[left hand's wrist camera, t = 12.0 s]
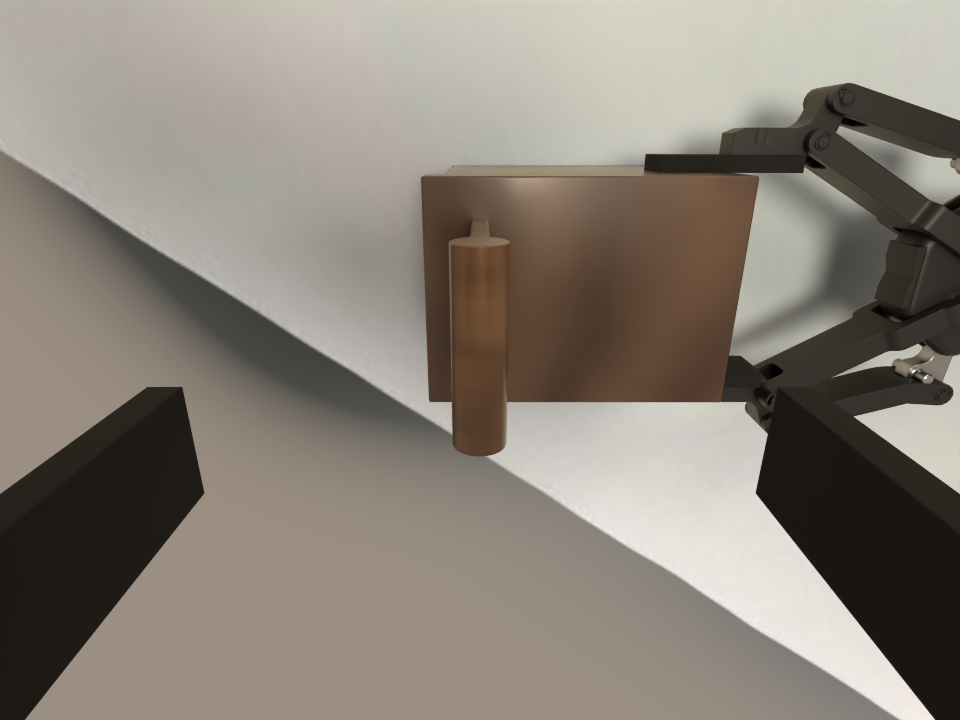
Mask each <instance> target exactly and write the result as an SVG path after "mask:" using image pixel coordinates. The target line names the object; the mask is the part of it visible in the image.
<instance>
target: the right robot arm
mask: <svg viewBox="0 0 960 720" xmlns="http://www.w3.org/2000/svg"><path fill="white" fill-rule="evenodd" d="M803 108H804V110H803V112H802V114H801V116H800V118H799V119H798V121H797V122H796V123H795V124H793V125H792V126H790V127H788V128H735V129H731V130H729V131H726V132H724V133H722V139H721V146H720V152H719V154H646V157H645V167H644V170H650V171H656V172H727V173H803V171H804V167H806V168H807V169H809V170H810V171H812V172H813V173H814V174H816V175H817V176H819V177H820V178H822V179H823V180H825V181H826V182H827V183H829V184H830V185H832V186H833V187H835V188H836V189H838V190H839V191H840V192H842V193H843V194H845V195H846V196H848V197H849V198H850V199H852V200H853V201H855V202H856V203H858V204H859V205H861V206H862V207H863V208H865V209H866V210H868V211H869V212H871V213H872V214H874V215H875V216H876V217H877V220H878V221H879V222H880V223H882V224H883V225H885V226H886V227H888V228H889V229H891V230H892V231H893V232H895V233H896V234H898V235H899V236H898V237H897V239H896V240H890V243H889V246H888V250H887V254H886V272H885V273H884V275H883V277H882V279H881V281H880V283H879V285H878V288H877V292H876V296H875V299H877V301H875V302H873V303H871V304H869V305H867V306H865V307H863V308H861V309H859V310H857V311H855V312H854V313H853V317H852V318H851V319H849V320H847V321H845V322H843V323H841V324H839V325H837V326H835V327H833V328H831V329H829V330H827V331H825V332H822V333H820V334H818V335H816V336H814V337H812V338H810V339H808V340H806V341H804V342H802V343H800V344H798V345H796V346H794V347H792V348H790V349H787V350H785V351H783V352H781V353H779V354H777V355H775V356H773V357H771V358H769V359H767V360H765V361H763V362H761V363H759V364H757V365H755V366H753V365H751V364H750V363H749V362H748V361H746V360H745V359H744V358H743V357H741V356H729V357H728V363H727V369H726V375H725V381H724V386H723V392H722V398H721V402H747V403H746V405H745V410H746V412H747V413H748V414H749V415H750V416H751V417H752V418H753V419H754V421H755V422H756V423H757V424H758V425H759V426H760V427H761V428H762V429H764V430H765V431H766V432H767V433H768V432H769V427H770V422H771V417H772V413H773V408H774V403H775V398H776V393H777V389H778V387H813V388H815V389H816V390H817V391H819V392H820V393H821V394H823V395H824V396H826V397H827V398H828V399H830V400H831V401H832V402H834V403H835V404H837V405H838V406H839V407H841V408H842V409H843V410H845V411H846V412H848V413H849V414H850V415H852V416H857V415H861V414H865V413H870V412H874V411H878V410H882V409H886V408H890V407H894V406H898V405H902V404H906V403H909V404H925V405H943V404H945V403H947V402H948V401H949V400H950V399H951V398H952V396H953V389H952V387H950V386H949V385H947V384H945V383H943V382H942V381H943V379H944V376H945V374H946V371H947V369H948V366H949V363H950V361H951V358H952V356H955V355H959V354H960V194H959V195H958V196H956V197H955V198H953V199H951V200H950V201H948V202H946V203H945V204H943V205H940V204H938V203H935V202H932V201H930V200H929V199H927V198H926V197H925V196H923V195H922V194H920V193H919V192H918V191H916V190H915V189H913V188H912V187H911V186H909V185H908V184H906V183H905V182H904V181H902V180H901V179H899V178H898V177H897V176H895V175H894V174H892V173H891V172H890V171H888V170H887V169H885V168H884V167H883V166H881V165H880V164H879V163H877V162H876V161H874V160H873V159H872V158H870V157H869V156H867V155H866V154H865V153H863V152H862V151H860V150H859V149H858V148H856V147H855V146H853V145H852V144H851V143H849V142H848V141H846V140H845V139H844V138H842V137H841V136H840V135H838V134H837V133H836V131H837V129H838V127H839V125H840V126H843V127H846V128H849V129H852V130H855V131H858V132H860V133H863V134H866V135H869V136H872V137H875V138H878V139H881V140H884V141H887V142H890V143H893V144H896V145H899V146H902V147H905V148H908V149H911V150H913V151H916V152H919V153H922V154H925V155H929V156H933V157H939V158H952V160H951V162H950V166H951V167H952V168H955V170H956V172H957V173H958V174H960V121H959V120H956V119H953V118H951V117H948V116H945V115H942V114H939V113H936V112H933V111H931V110H928V109H925V108H922V107H919V106H916V105H913V104H910V103H908V102H905V101H902V100H899V99H896V98H893V97H890V96H888V95H885V94H882V93H879V92H876V91H873V90H870V89H868V88H865V87H862V86H859V85H856V84H852V83H846V84H840V85H834V86H828V87H822V88H816V89H813V90H811V91H810V92H809V93H808V94H807V95H806V97H805V98H804V102H803ZM916 344H920V345H921V346H922V347H923V348H922V350H921V351H920V352H919V354H917V355H916V356H914V357H912V358H907V359H904V360H901V359H896V360H894V361H893V363H892V366H883V367H874V368H869V369H865V370H861V371H857V372H853V373H849V374H845V375H841V376H837V377H834V376H836V375H838V374H840V373H842V372H844V371H846V370H849V369H851V368H853V367H855V366H857V365H859V364H861V363H864V362H866V361H868V360H870V359H872V358H874V357H876V356H878V355H881V354H883V353H885V352H887V351H900V350H905V349H907V348H909V347H912V346H914V345H916ZM832 377H833V378H832Z"/></svg>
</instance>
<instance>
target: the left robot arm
mask: <svg viewBox="0 0 960 720" xmlns="http://www.w3.org/2000/svg"><path fill="white" fill-rule="evenodd" d="M203 494H204V489H203V484H202V480H201V475H200V470H199V465H198V460H197V456H196V451H195V446H194V441H193V436H192V432H191V427H190V422H189V417H188V413H187V408H186V403H185V398H184V393H183V389H182V387H147V388H146V389H144V390H143V391H141V392H140V393H139V394H137V395H136V396H134V397H133V398H132V399H130V400H129V401H128V402H126V403H125V404H123V405H122V406H121V407H119V408H118V409H117V410H115V411H114V412H112V413H111V414H110V415H108V416H107V417H106V418H104V419H103V420H102V421H100V422H99V423H97V424H96V425H95V426H93V427H92V428H90V429H89V430H88V431H86V432H85V433H84V434H82V435H81V436H79V437H78V438H77V439H75V440H74V441H73V442H71V443H70V444H68V445H67V446H66V447H64V448H63V449H62V450H60V451H59V452H57V453H56V454H55V455H53V456H52V457H51V458H49V459H48V460H46V461H45V462H44V463H42V464H41V465H40V466H38V467H37V468H35V469H34V470H33V471H31V472H30V473H29V474H27V475H26V476H24V477H23V478H22V479H20V480H19V481H18V482H16V483H15V484H13V485H12V486H11V487H9V488H8V489H7V490H5V491H4V492H2V493H1V494H0V720H25V719H26V718H27V716H28V715H29V714H30V713H31V711H32V710H33V709H34V707H35V706H36V705H37V704H38V702H39V701H40V700H41V699H42V697H43V696H44V695H45V694H46V692H47V691H48V690H49V689H50V687H51V686H52V685H53V683H54V682H55V681H56V680H57V678H58V677H59V676H60V675H61V673H62V672H63V671H64V670H65V668H66V667H67V666H68V665H69V663H70V662H71V661H72V659H73V658H74V657H75V656H76V654H77V653H78V652H79V651H80V649H81V648H82V647H83V646H84V644H85V643H86V642H87V641H88V639H89V638H90V637H91V636H92V634H93V633H94V632H95V631H96V629H97V628H98V627H99V625H100V624H101V623H102V622H103V620H104V619H105V618H106V617H107V615H108V614H109V613H110V612H111V610H112V609H113V608H114V607H115V605H116V604H117V603H118V601H119V600H120V599H121V598H122V596H123V595H124V594H125V593H126V591H127V590H128V589H129V588H130V586H131V585H132V584H133V583H134V581H135V580H136V579H137V577H138V576H139V575H140V574H141V572H142V571H143V570H144V569H145V567H146V566H147V565H148V564H149V562H150V561H151V560H152V559H153V557H154V556H155V555H156V554H157V552H158V551H159V550H160V548H161V547H162V546H163V545H164V543H165V542H166V541H167V540H168V538H169V537H170V536H171V535H172V533H173V532H174V531H175V530H176V528H177V527H178V526H179V525H180V523H181V522H182V521H183V519H184V518H185V517H186V516H187V514H188V513H189V512H190V511H191V509H192V508H193V507H194V505H195V504H196V503H197V502H198V501H199V499H200V498H201V497H202V495H203ZM756 494H757V495H758V497H759V498H760V499H761V501H762V502H763V503H764V504H765V506H766V507H767V508H768V509H769V511H770V512H771V513H772V514H773V516H774V517H775V518H776V519H777V521H778V522H779V523H780V525H781V526H782V527H783V528H784V530H785V531H786V532H787V533H788V535H789V536H790V537H791V538H792V540H793V541H794V542H795V543H796V545H797V546H798V547H799V548H800V550H801V551H802V552H803V554H804V555H805V556H806V557H807V559H808V560H809V561H810V562H811V564H812V565H813V566H814V567H815V569H816V570H817V571H818V572H819V574H820V575H821V576H822V578H823V579H824V580H825V581H826V583H827V584H828V585H829V586H830V588H831V589H832V590H833V591H834V593H835V594H836V595H837V596H838V598H839V599H840V600H841V601H842V603H843V604H844V605H845V607H846V608H847V609H848V610H849V612H850V613H851V614H852V615H853V617H854V618H855V619H856V620H857V622H858V623H859V624H860V625H861V627H862V628H863V629H864V631H865V632H866V633H867V634H868V636H869V637H870V638H871V639H872V641H873V642H874V643H875V644H876V646H877V647H878V648H879V649H880V651H881V652H882V653H883V654H884V656H885V657H886V658H887V660H888V661H889V662H890V663H891V665H892V666H893V667H894V668H895V670H896V671H897V672H898V673H899V675H900V676H901V677H902V678H903V680H904V681H905V682H906V684H907V685H908V686H909V687H910V689H911V690H912V691H913V692H914V694H915V695H916V696H917V697H918V699H919V700H920V701H921V702H922V704H923V705H924V706H925V707H926V709H927V710H928V711H929V713H930V714H931V715H932V716H933V718H934V719H935V720H960V494H959V493H958V492H956V491H955V490H953V489H952V488H951V487H949V486H948V485H947V484H945V483H944V482H942V481H941V480H940V479H938V478H937V477H936V476H934V475H933V474H931V473H930V472H929V471H927V470H926V469H925V468H923V467H922V466H920V465H919V464H918V463H916V462H915V461H914V460H912V459H911V458H909V457H908V456H907V455H905V454H904V453H903V452H901V451H900V450H898V449H897V448H896V447H894V446H893V445H892V444H890V443H889V442H887V441H886V440H885V439H883V438H882V437H881V436H879V435H878V434H876V433H875V432H874V431H872V430H871V429H870V428H868V427H867V426H865V425H864V424H863V423H861V422H860V421H859V420H857V419H856V418H854V417H853V416H852V415H850V414H849V413H848V412H846V411H845V410H843V409H842V408H841V407H839V406H838V405H837V404H835V403H834V402H832V401H831V400H830V399H828V398H827V397H826V396H824V395H823V394H821V393H820V392H819V391H817V390H816V389H815V388H813V387H778V389H777V393H776V398H775V403H774V408H773V413H772V417H771V422H770V427H769V432H768V436H767V441H766V446H765V451H764V456H763V460H762V465H761V470H760V475H759V480H758V484H757V489H756Z"/></svg>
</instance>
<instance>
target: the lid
mask: <svg viewBox="0 0 960 720" xmlns="http://www.w3.org/2000/svg"><path fill="white" fill-rule="evenodd" d="M758 182H759V177H758V176H753V175H424V176H422V177H421V192H422V219H423V247H424V274H425V302H426V330H427V357H428V385H429V401H430V402H452V427H453V445H454V447H455V448H456V450H458V451H459V452H461V453H463V454H466V455H470V456H489V455H493V454H496V453H498V452H500V451H501V450H503V448H504V447H505V445H506V424H507V402H721V398H722V392H723V386H724V381H725V375H726V369H727V363H728V357H729V351H730V345H731V340H732V334H733V328H734V322H735V316H736V310H737V305H738V299H739V293H740V287H741V281H742V275H743V270H744V264H745V258H746V252H747V246H748V240H749V234H750V229H751V223H752V217H753V211H754V205H755V199H756V194H757V188H758Z"/></svg>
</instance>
